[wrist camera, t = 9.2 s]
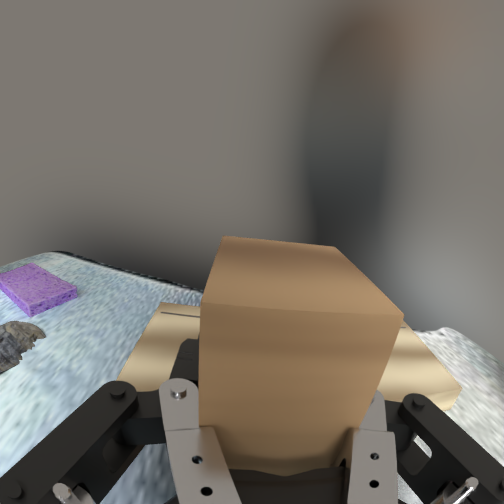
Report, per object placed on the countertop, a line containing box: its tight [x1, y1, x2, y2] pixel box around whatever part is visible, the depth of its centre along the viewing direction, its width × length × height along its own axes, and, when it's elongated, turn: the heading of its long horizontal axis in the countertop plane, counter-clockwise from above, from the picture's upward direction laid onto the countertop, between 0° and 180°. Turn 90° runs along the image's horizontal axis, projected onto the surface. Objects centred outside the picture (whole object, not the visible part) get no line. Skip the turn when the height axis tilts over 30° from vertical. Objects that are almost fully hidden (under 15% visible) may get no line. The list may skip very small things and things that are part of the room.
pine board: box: [116, 302, 462, 411], centre depth 22 cm, size 12×24×2 cm, turn 91°
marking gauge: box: [199, 236, 404, 476], centre depth 16 cm, size 18×4×12 cm, turn 1°
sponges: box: [0, 263, 77, 317], centre depth 28 cm, size 7×13×2 cm, turn 67°
